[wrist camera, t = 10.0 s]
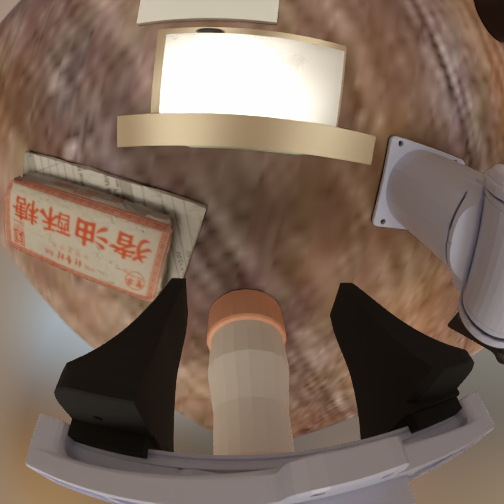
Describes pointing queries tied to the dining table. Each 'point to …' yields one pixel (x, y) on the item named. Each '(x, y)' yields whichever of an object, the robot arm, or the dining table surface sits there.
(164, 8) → the mat
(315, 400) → the dining table surface
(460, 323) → the phone stand
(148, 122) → the beige box
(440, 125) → the dining table surface
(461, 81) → the dining table surface
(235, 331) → the pepper shaker
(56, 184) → the packaged product
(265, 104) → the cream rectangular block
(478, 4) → the bottle
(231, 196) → the dining table surface
